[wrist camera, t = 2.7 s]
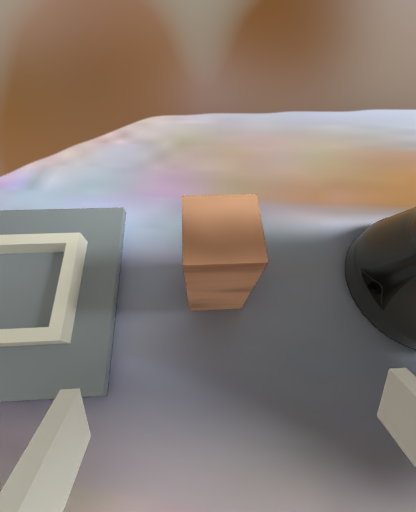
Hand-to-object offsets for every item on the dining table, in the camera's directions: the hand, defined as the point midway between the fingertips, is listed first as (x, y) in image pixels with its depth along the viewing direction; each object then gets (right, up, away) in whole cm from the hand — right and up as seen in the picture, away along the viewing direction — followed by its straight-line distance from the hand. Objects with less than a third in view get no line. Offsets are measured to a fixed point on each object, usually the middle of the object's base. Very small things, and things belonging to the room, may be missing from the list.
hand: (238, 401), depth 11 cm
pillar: (-1, +3, +17) cm, 18 cm away
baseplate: (-20, +2, +16) cm, 26 cm away
